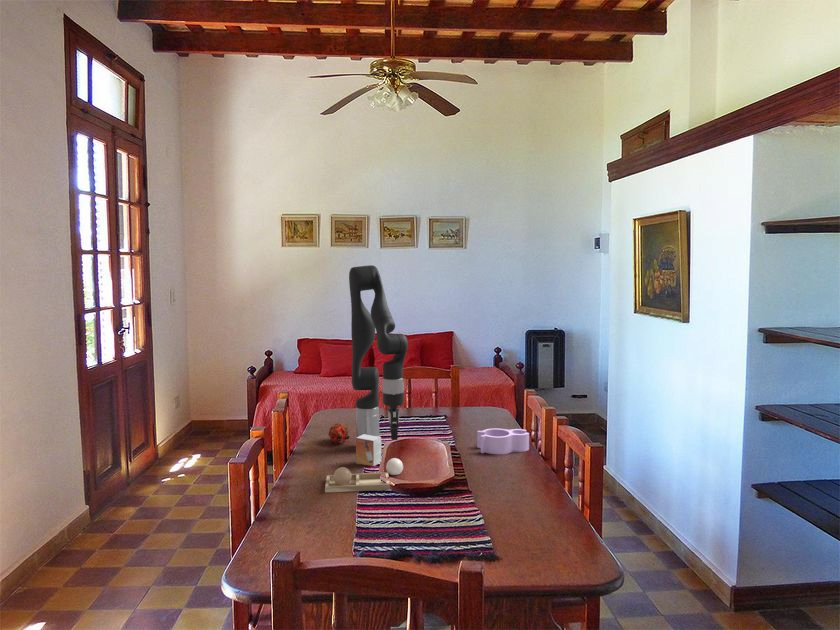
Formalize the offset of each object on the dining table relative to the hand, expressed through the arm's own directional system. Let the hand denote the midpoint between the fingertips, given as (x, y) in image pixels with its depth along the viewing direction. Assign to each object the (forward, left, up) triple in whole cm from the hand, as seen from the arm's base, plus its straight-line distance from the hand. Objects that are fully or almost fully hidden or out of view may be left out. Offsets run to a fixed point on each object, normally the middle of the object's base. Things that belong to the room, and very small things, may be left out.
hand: (393, 436), depth 199 cm
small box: (-12, -9, -15) cm, 21 cm away
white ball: (0, 0, -14) cm, 14 cm away
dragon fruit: (-40, -21, -15) cm, 48 cm away
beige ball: (+9, -18, -13) cm, 24 cm away
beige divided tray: (+9, -13, -14) cm, 21 cm away
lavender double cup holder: (-23, +45, -15) cm, 53 cm away
